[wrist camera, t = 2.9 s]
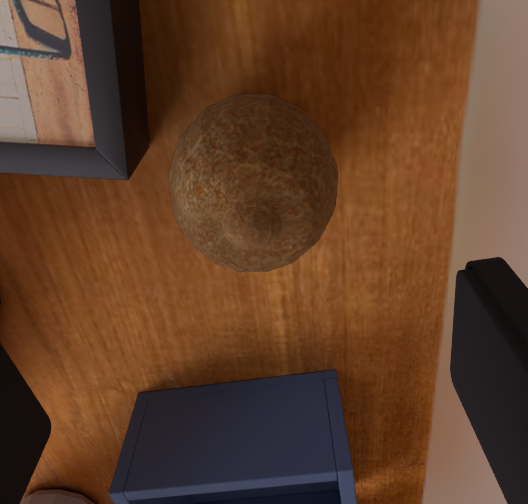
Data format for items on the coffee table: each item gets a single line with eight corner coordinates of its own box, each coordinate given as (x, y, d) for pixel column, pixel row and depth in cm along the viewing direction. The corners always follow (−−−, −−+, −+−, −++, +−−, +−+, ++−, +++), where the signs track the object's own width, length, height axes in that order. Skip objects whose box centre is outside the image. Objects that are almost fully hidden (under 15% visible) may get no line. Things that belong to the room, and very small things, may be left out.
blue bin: (335, 369, 28) (353, 470, 22) (350, 486, 35) (366, 586, 29) (137, 392, 29) (107, 494, 24) (188, 501, 36) (174, 601, 30)
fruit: (307, 217, 22) (325, 326, 16) (180, 196, 22) (142, 300, 15) (341, 87, 19) (383, 155, 12) (193, 59, 19) (152, 113, 12)
